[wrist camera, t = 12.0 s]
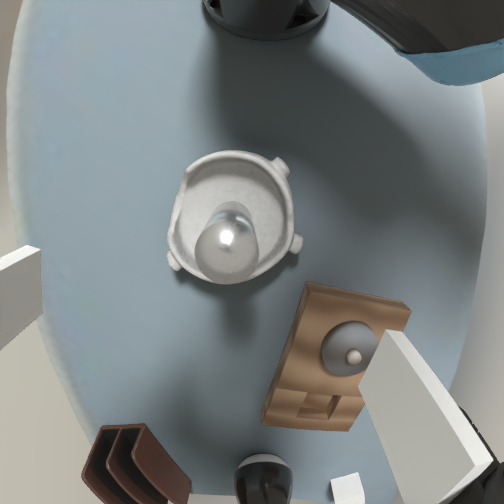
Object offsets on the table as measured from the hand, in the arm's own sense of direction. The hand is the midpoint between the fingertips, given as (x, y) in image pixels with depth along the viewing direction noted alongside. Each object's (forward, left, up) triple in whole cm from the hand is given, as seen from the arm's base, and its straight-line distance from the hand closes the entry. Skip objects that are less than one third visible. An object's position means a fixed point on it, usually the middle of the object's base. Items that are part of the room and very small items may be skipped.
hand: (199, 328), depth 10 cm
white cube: (+49, +34, -26) cm, 65 cm away
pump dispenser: (+42, +14, -26) cm, 51 cm away
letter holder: (+48, -7, -26) cm, 55 cm away
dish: (0, 0, -26) cm, 26 cm away
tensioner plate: (+17, +17, -26) cm, 35 cm away
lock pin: (0, 0, -21) cm, 21 cm away
